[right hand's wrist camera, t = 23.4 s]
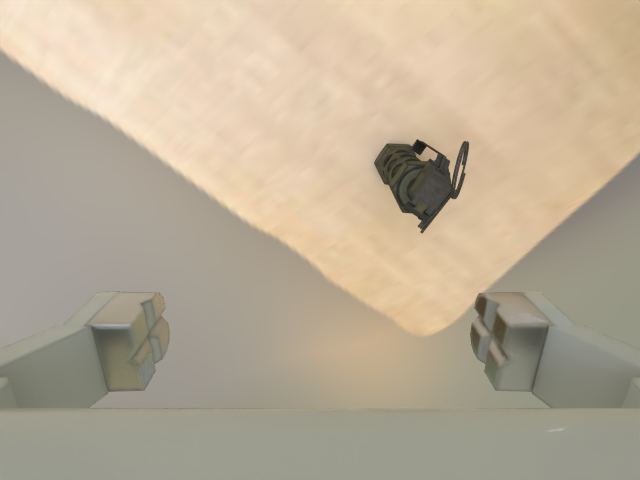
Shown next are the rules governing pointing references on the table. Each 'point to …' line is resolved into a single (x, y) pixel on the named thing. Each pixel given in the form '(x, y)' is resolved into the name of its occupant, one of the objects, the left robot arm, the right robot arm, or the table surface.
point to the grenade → (419, 179)
